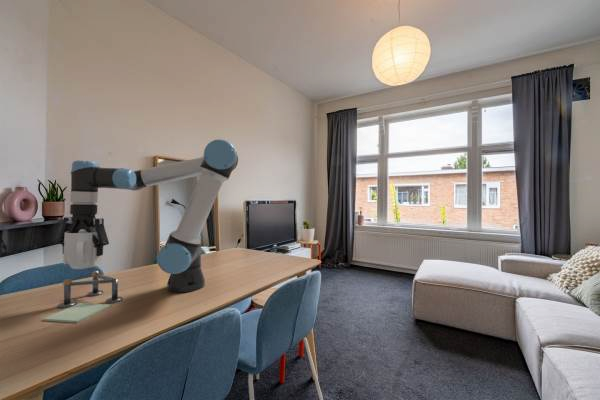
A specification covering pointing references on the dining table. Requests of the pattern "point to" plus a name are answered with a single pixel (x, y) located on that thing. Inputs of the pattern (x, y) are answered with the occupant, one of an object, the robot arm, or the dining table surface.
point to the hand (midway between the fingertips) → (82, 264)
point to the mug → (79, 249)
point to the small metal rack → (95, 292)
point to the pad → (76, 313)
